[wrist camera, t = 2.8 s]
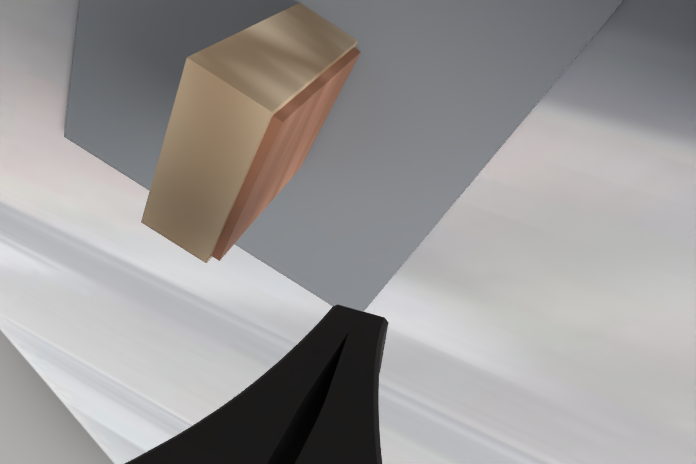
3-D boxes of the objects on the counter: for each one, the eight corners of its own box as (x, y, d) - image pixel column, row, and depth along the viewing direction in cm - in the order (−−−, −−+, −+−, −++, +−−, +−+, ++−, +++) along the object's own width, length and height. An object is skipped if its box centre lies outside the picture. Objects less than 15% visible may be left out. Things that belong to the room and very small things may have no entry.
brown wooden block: (365, 45, 18) (282, 118, 12) (300, 169, 21) (214, 268, 16) (299, 2, 18) (186, 57, 12) (245, 134, 21) (141, 222, 16)
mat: (642, -27, 14) (644, -25, 14) (358, 315, 26) (355, 320, 25) (132, -372, 14) (122, -378, 13) (70, 133, 25) (64, 136, 25)
